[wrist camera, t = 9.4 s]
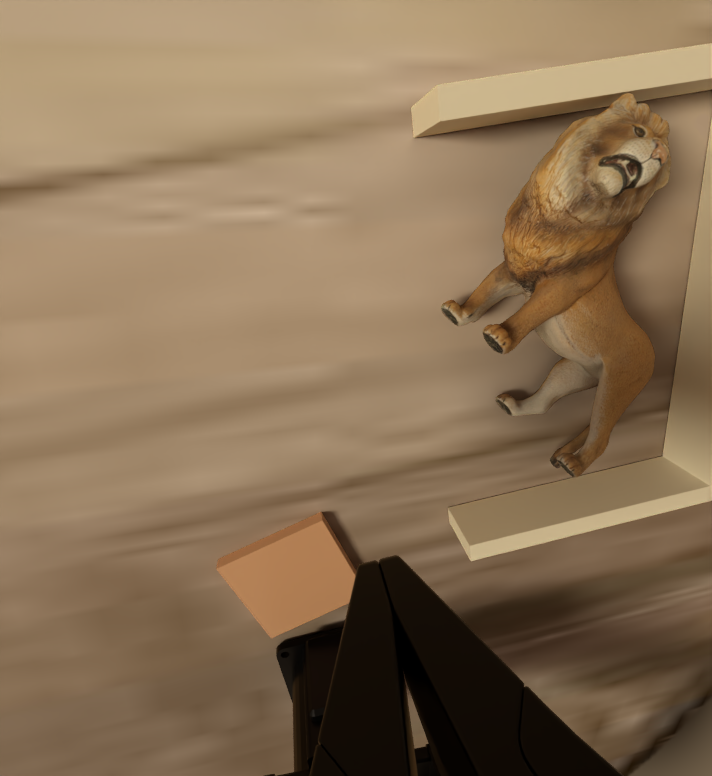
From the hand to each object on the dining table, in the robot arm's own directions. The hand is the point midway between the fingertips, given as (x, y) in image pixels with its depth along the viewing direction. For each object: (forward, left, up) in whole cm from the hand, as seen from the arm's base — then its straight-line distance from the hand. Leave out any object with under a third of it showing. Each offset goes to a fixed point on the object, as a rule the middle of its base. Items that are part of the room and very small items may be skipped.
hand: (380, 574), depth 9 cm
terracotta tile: (-11, +4, -12) cm, 17 cm away
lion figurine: (-1, -7, -9) cm, 11 cm away
